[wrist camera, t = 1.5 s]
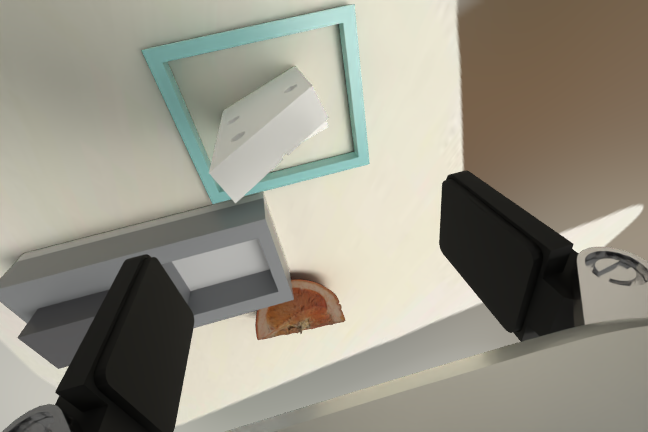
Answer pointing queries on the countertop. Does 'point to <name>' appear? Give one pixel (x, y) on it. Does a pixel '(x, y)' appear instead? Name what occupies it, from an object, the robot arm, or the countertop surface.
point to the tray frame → (232, 38)
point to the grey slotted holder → (174, 255)
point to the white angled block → (265, 131)
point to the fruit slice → (300, 311)
